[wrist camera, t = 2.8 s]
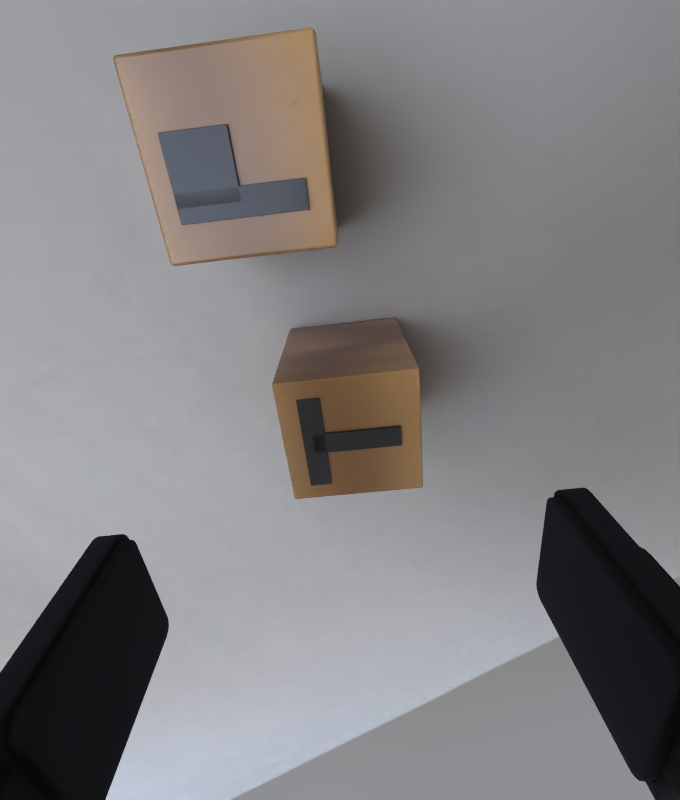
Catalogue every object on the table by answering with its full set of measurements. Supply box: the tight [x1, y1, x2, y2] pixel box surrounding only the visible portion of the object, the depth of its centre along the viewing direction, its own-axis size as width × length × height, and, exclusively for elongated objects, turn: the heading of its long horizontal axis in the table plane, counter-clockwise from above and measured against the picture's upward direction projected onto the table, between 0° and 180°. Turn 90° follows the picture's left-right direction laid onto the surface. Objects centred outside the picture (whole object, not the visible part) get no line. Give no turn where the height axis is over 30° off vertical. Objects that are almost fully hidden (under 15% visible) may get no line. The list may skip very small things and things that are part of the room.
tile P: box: [113, 28, 338, 266], centre depth 12 cm, size 4×4×6 cm
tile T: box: [272, 318, 423, 499], centre depth 16 cm, size 4×4×6 cm
